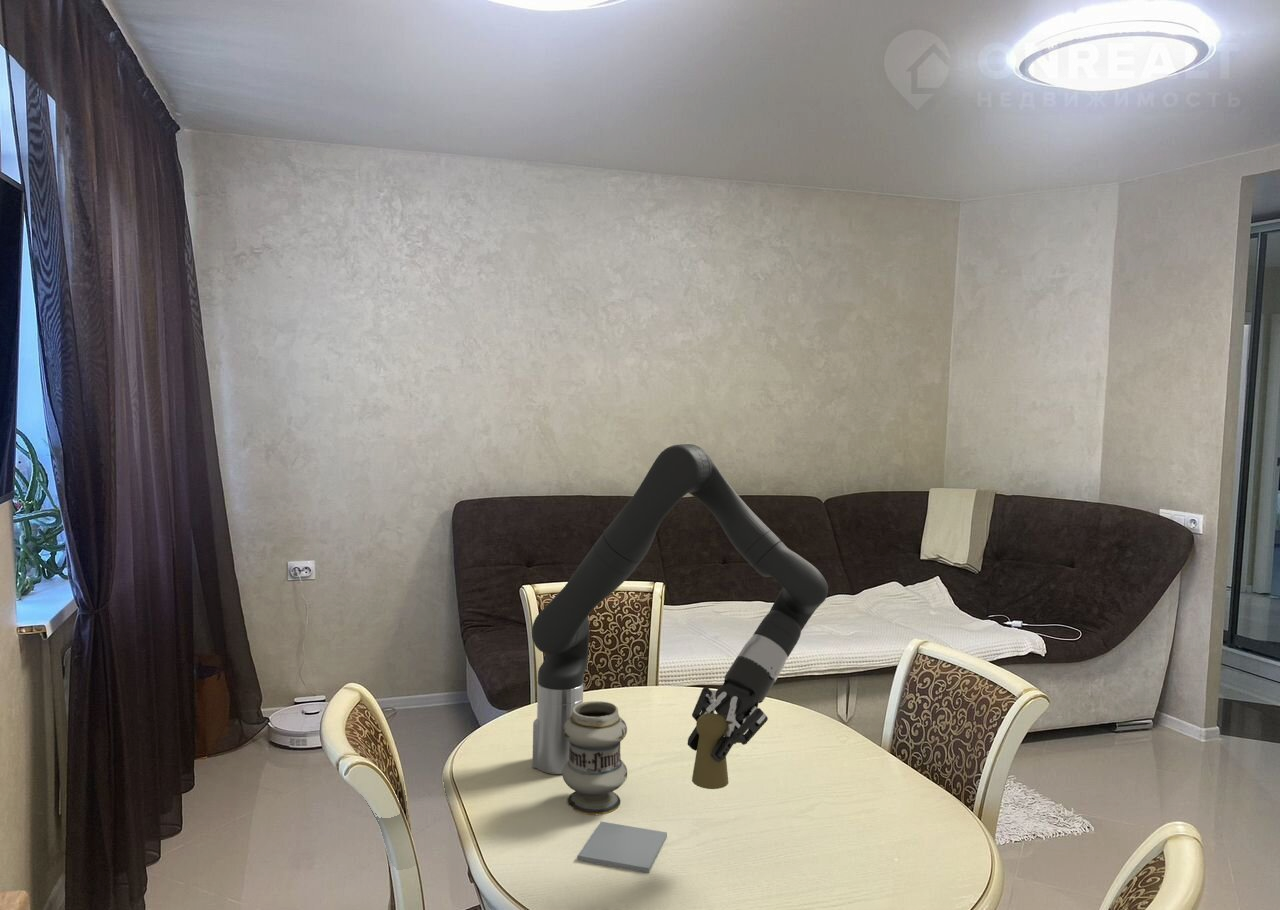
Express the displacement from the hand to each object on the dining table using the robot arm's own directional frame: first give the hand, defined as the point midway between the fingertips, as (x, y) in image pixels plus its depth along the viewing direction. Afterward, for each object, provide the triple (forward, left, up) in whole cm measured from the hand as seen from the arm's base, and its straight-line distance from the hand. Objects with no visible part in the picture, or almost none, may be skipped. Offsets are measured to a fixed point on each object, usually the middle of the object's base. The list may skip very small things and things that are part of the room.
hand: (703, 753), depth 142 cm
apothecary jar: (-23, +13, -18) cm, 32 cm away
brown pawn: (+1, +2, -5) cm, 6 cm away
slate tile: (-13, -1, -18) cm, 22 cm away
